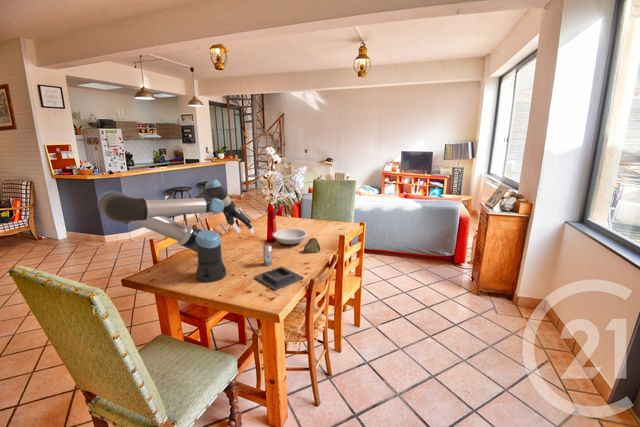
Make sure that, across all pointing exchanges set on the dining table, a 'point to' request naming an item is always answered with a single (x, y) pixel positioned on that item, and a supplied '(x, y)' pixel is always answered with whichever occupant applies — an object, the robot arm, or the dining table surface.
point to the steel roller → (267, 255)
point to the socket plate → (278, 278)
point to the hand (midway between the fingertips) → (246, 232)
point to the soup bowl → (290, 235)
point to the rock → (312, 246)
